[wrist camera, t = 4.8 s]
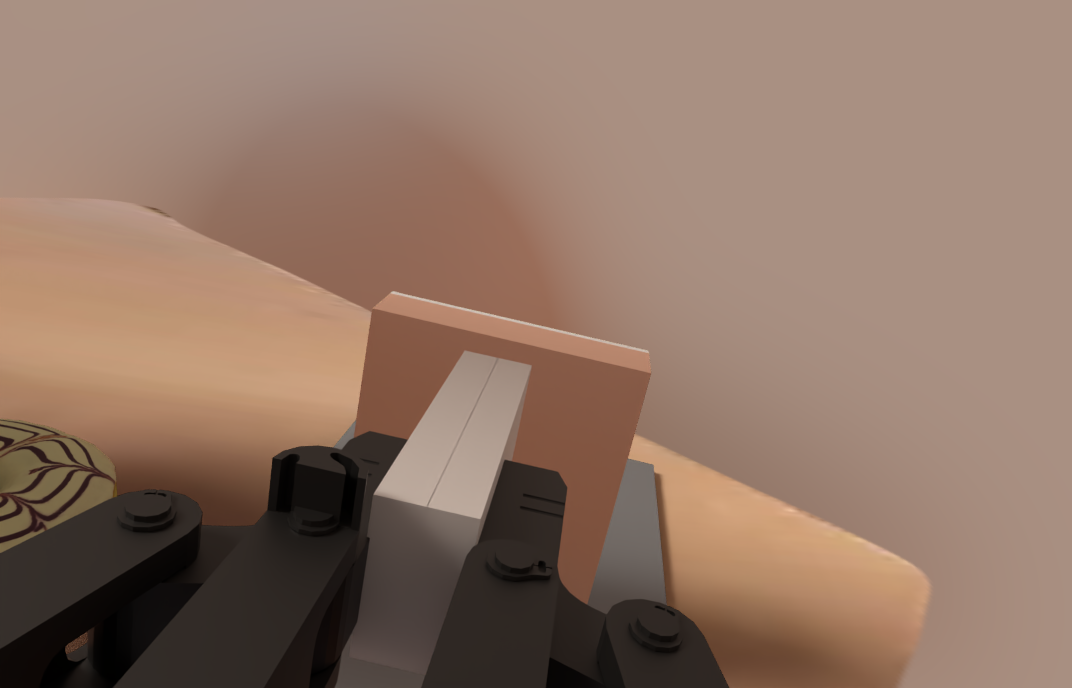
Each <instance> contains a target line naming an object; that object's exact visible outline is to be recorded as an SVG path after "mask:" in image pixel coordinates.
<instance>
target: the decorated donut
mask: <svg viewBox="0 0 1072 688" xmlns="http://www.w3.org/2000/svg"><path fill="white" fill-rule="evenodd" d="M114 497H117V487H116V473H115V465H114V464H113V463H112V462H111V460H110V459H109V458H108V457H107V456H106V455H105V454H104V453H102V452H101V451H100V450H99V449H98V448H97V447H96V446H95V445H93V444H91V443H89V442H87V441H85V440H82V439H80V438H77V437H75V436H72V435H68V434H66V433H64V432H62V431H59V430H56V429H54V428H50V427H47V426H44V425H38V424H34V423H30V422H25V421H21V420H10V419H0V553H2V552H4V551H6V550H8V549H10V548H12V547H14V546H16V545H18V544H20V543H22V542H24V541H26V540H28V539H30V538H32V537H34V536H36V535H38V534H40V533H42V532H44V531H46V530H48V529H50V528H52V527H54V526H56V525H58V524H60V523H62V522H64V521H66V520H68V519H70V518H72V517H74V516H76V515H78V514H80V513H82V512H84V511H86V510H88V509H90V508H92V507H94V506H96V505H98V504H100V503H102V502H104V501H106V500H108V499H111V498H114Z"/></svg>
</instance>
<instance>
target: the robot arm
mask: <svg viewBox="0 0 1072 688" xmlns="http://www.w3.org/2000/svg"><path fill="white" fill-rule="evenodd" d="M531 367H532V365H528V364H523V363H519V362H514V361H510V360H505V359H501V358H496V357H492V356H488V355H483V354H479V353H474V352H470V351H464V353H463V354H462V356H461V357H460V359H459V360H458V362H457V364H456V365H455V367H454V368H453V370H452V371H451V373H450V375H449V376H448V378H447V379H446V381H445V382H444V384H443V386H442V387H441V389H440V390H439V392H438V393H437V395H436V397H435V398H434V400H433V401H432V403H431V404H430V406H429V408H428V409H427V411H426V412H425V414H424V415H423V417H422V419H421V420H420V422H419V423H418V425H417V426H416V428H415V430H414V431H413V433H412V434H411V436H410V437H409V439H408V440H407V439H403V438H399V437H394V436H390V435H385V434H381V433H377V432H372V431H368V432H366V433H364V434H362V435H359V436H357V437H355V438H353V439H350V440H349V441H348V442H347V443H346V445H345V446H344V447H343V448H342V449H338V448H332V447H324V446H301V447H296V448H292V449H289V450H285V451H283V452H281V453H280V454H278V455H276V456H275V457H273V460H272V470H271V480H270V490H269V500H268V509H267V511H266V512H265V514H264V515H263V516H262V517H261V518H260V519H259V520H258V522H257V523H256V524H255V525H251V526H209V525H202V511H201V509H200V507H199V505H198V503H197V502H195V501H194V500H192V499H191V498H189V497H187V496H186V495H183V494H179V493H175V492H171V491H166V490H143V491H136V492H129V493H125V494H122V495H119V496H117V497H114V498H111V499H108V500H106V501H104V502H102V503H100V504H98V505H96V506H94V507H92V508H90V509H88V510H86V511H84V512H82V513H80V514H78V515H76V516H74V517H72V518H70V519H68V520H66V521H64V522H62V523H60V524H58V525H56V526H54V527H52V528H50V529H48V530H46V531H44V532H42V533H40V534H38V535H36V536H34V537H32V538H30V539H28V540H26V541H24V542H22V543H20V544H18V545H16V546H14V547H12V548H10V549H8V550H6V551H4V552H2V553H0V688H335V686H336V683H337V680H338V675H339V670H340V663H341V656H342V651H343V649H344V647H345V645H346V643H347V641H348V639H349V637H350V635H351V633H352V631H353V634H352V641H351V647H350V654H349V657H352V658H356V659H360V660H364V661H368V662H373V663H377V664H381V665H385V666H389V667H394V668H398V669H402V670H406V671H410V672H414V673H419V674H423V675H425V678H424V681H423V683H422V686H421V688H729V686H728V684H727V682H726V680H725V678H724V676H723V674H722V672H721V670H720V668H719V666H718V664H717V662H716V660H715V658H714V656H713V654H712V652H711V650H710V647H709V645H708V643H707V641H706V639H705V637H704V635H703V634H702V633H701V631H700V630H699V629H698V627H697V626H696V625H695V623H694V622H693V621H691V620H690V619H689V618H687V617H686V616H685V615H684V614H682V613H681V612H680V611H678V610H676V609H674V608H672V607H670V606H667V605H665V604H662V603H660V602H655V601H650V600H645V599H631V600H624V601H622V602H619V603H617V604H615V605H613V606H612V607H611V609H610V610H609V612H608V613H607V614H605V613H603V612H601V611H599V610H596V609H594V608H592V607H591V606H589V605H587V604H585V603H583V602H582V601H580V600H579V599H577V598H576V597H575V596H574V595H573V594H571V593H570V592H569V591H568V590H567V588H566V587H565V586H564V585H563V584H562V582H561V579H560V577H559V572H558V567H557V565H558V557H559V550H560V542H561V534H562V526H563V517H564V511H565V503H566V496H567V486H566V484H565V483H564V481H563V479H562V477H561V476H560V474H559V472H557V471H553V470H548V469H544V468H540V467H535V466H531V465H527V464H522V463H518V462H513V461H512V458H513V453H514V449H515V444H516V439H517V434H518V429H519V425H520V420H521V415H522V410H523V406H524V401H525V396H526V391H527V386H528V382H529V377H530V372H531ZM87 631H88V642H87V643H86V644H84V645H83V646H81V647H80V648H79V649H77V650H76V651H73V652H71V653H69V654H66V652H65V646H66V645H68V644H69V643H70V642H72V641H73V640H75V639H76V638H78V637H79V636H81V635H82V634H84V633H85V632H87Z"/></svg>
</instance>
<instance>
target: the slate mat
mask: <svg viewBox="0 0 1072 688" xmlns="http://www.w3.org/2000/svg"><path fill="white" fill-rule="evenodd" d="M355 425H356V420H355V422H354V423H353V424H352V425H351V427H350V428H349V429H348V430H347V431H346V433H345V434H344V435H343V436H342V437H341V439H340V440H339V441H338V442H337V444H336V445H335V446H334V447H333V448H338V449H342V448H343V447H344V446H345V445H346V443H347V442H348V441H349V440H350V439H353V438H354V432H355ZM631 599H645V600H650V601H655V602H660V603H662V604H665V605H667V603H666V592H665V582H664V571H663V561H662V550H661V540H660V529H659V519H658V508H657V498H656V487H655V477H654V466H653V465H652V464H648V463H644V462H640V461H636V460H631V459H627V463H626V466H625V470H624V474H623V477H622V481H621V484H620V488H619V492H618V495H617V499H616V502H615V506H614V510H613V513H612V517H611V521H610V524H609V528H608V531H607V535H606V539H605V542H604V546H603V549H602V553H601V557H600V560H599V564H598V568H597V571H596V575H595V578H594V582H593V586H592V589H591V593H590V596H589V600H588V604H587V605H589V606H591V607H592V608H594V609H596V610H599V611H601V612H603V613H605V614H607V613H608V612H609V610H610V609H611V607H612V606H613V605H615V604H617V603H619V602H622V601H624V600H631ZM352 634H353V631H352V633H351V635H350V637H349V639H348V641H347V643H346V645H345V647H344V649H343V651H342V656H341V663H340V670H339V675H338V680H337V683H336V686H335V688H421V686H422V683H423V681H424V678H425V675H423V674H419V673H414V672H410V671H406V670H402V669H398V668H394V667H389V666H385V665H381V664H377V663H373V662H368V661H364V660H360V659H356V658H352V657H349V654H350V647H351V641H352Z"/></svg>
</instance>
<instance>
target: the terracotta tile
mask: <svg viewBox="0 0 1072 688" xmlns="http://www.w3.org/2000/svg"><path fill="white" fill-rule="evenodd" d="M464 351H470V352H474V353H479V354H483V355H488V356H492V357H496V358H501V359H505V360H510V361H514V362H519V363H523V364H528V365H532V367H531V372H530V377H529V382H528V386H527V391H526V396H525V401H524V406H523V410H522V415H521V420H520V425H519V429H518V434H517V439H516V444H515V449H514V453H513V458H512V461H513V462H518V463H522V464H527V465H531V466H535V467H540V468H544V469H548V470H553V471H557V472H559V474H560V476H561V477H562V479H563V481H564V483H565V484H566V486H567V496H566V503H565V511H564V517H563V526H562V534H561V542H560V550H559V557H558V565H557V567H558V572H559V577H560V579H561V582H562V584H563V585H564V586H565V587H566V588H567V590H568V591H569V592H570V593H571V594H573V595H574V596H575V597H576V598H577V599H579V600H580V601H582V602H583V603H585V604H588V600H589V596H590V593H591V589H592V586H593V582H594V578H595V575H596V571H597V568H598V564H599V560H600V557H601V553H602V549H603V546H604V542H605V539H606V535H607V531H608V528H609V524H610V521H611V517H612V513H613V510H614V506H615V502H616V499H617V495H618V492H619V488H620V484H621V481H622V477H623V474H624V470H625V466H626V463H627V459H628V456H629V452H630V448H631V445H632V441H633V437H634V434H635V430H636V426H637V423H638V419H639V416H640V412H641V408H642V405H643V401H644V398H645V394H646V390H647V387H648V383H649V380H650V375H651V367H650V359H649V351H647V350H643V349H638V348H634V347H630V346H626V345H621V344H617V343H613V342H608V341H604V340H599V339H595V338H591V337H587V336H583V335H578V334H574V333H570V332H565V331H561V330H557V329H552V328H548V327H544V326H539V325H535V324H530V323H526V322H522V321H518V320H513V319H509V318H505V317H500V316H496V315H492V314H488V313H483V312H479V311H475V310H470V309H466V308H462V307H457V306H453V305H449V304H444V303H440V302H436V301H431V300H427V299H423V298H419V297H414V296H410V295H406V294H401V293H397V292H391V293H390V294H389V295H388V296H386V297H385V298H384V299H383V300H382V301H381V302H379V303H378V304H377V305H376V306H375V307H374V308H373V309H372V315H371V322H370V329H369V336H368V343H367V349H366V356H365V363H364V370H363V377H362V384H361V391H360V398H359V405H358V411H357V418H356V425H355V432H354V438H355V437H357V436H359V435H362V434H364V433H366V432H368V431H372V432H377V433H381V434H385V435H390V436H394V437H399V438H403V439H407V440H408V439H409V437H410V436H411V434H412V433H413V431H414V430H415V428H416V426H417V425H418V423H419V422H420V420H421V419H422V417H423V415H424V414H425V412H426V411H427V409H428V408H429V406H430V404H431V403H432V401H433V400H434V398H435V397H436V395H437V393H438V392H439V390H440V389H441V387H442V386H443V384H444V382H445V381H446V379H447V378H448V376H449V375H450V373H451V371H452V370H453V368H454V367H455V365H456V364H457V362H458V360H459V359H460V357H461V356H462V354H463V353H464Z"/></svg>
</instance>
